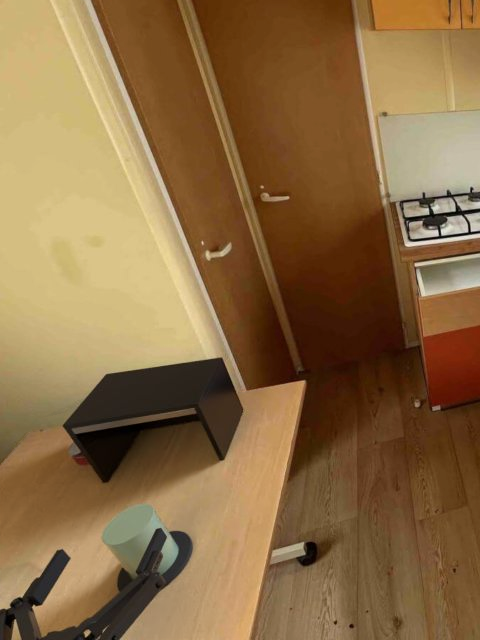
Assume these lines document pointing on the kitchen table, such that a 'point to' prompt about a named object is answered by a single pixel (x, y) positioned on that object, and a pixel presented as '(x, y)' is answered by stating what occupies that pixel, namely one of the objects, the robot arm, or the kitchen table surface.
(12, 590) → the kitchen table surface
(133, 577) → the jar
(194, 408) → the dark wooden monitor stand
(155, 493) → the kitchen table surface
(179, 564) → the trivet
